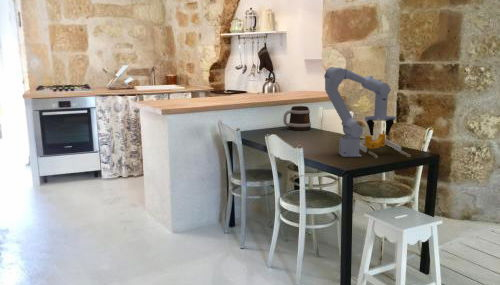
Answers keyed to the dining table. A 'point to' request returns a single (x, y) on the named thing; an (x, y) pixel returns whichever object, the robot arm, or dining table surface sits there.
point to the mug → (298, 118)
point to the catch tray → (385, 143)
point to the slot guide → (400, 152)
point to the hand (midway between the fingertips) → (379, 135)
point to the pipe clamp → (377, 143)
